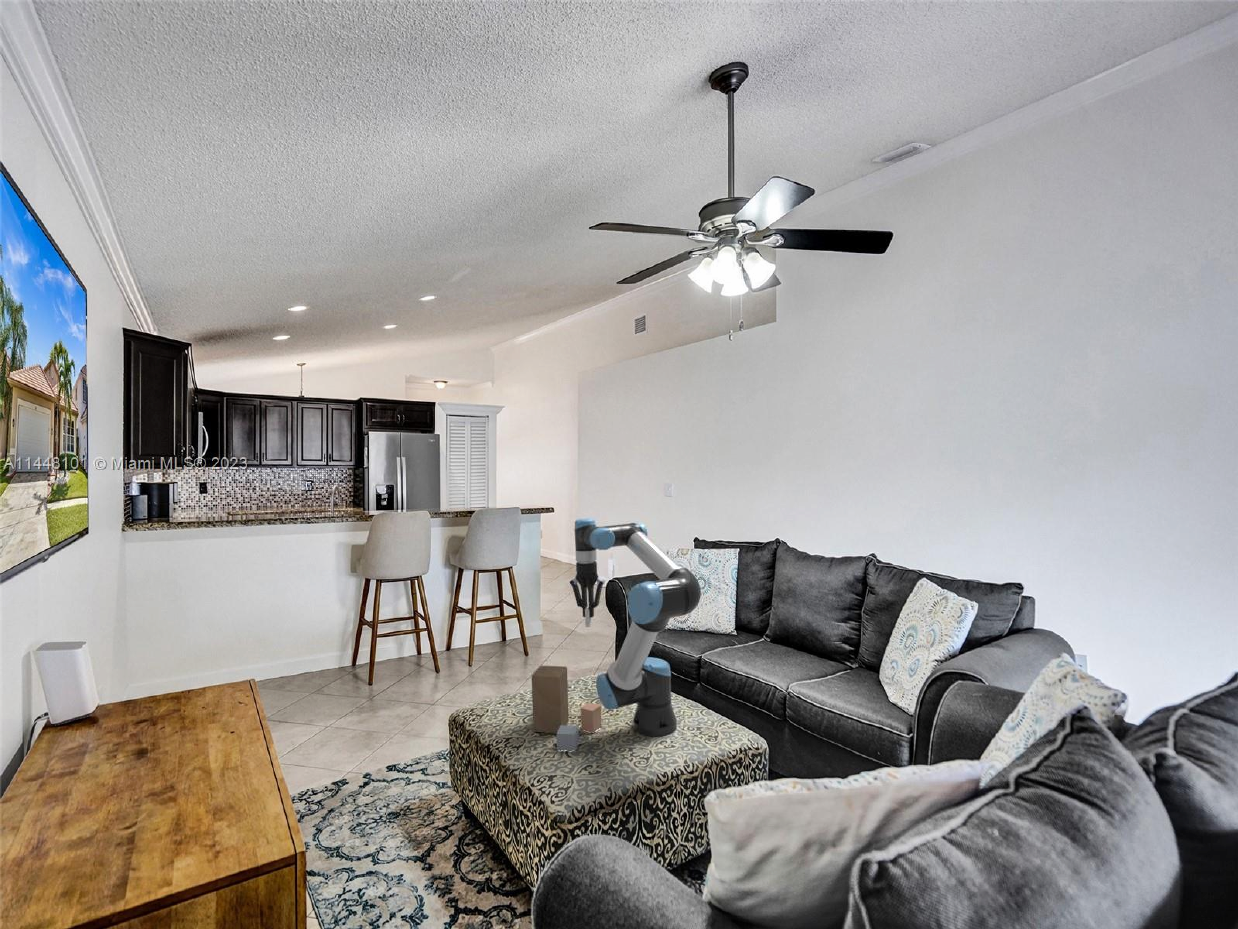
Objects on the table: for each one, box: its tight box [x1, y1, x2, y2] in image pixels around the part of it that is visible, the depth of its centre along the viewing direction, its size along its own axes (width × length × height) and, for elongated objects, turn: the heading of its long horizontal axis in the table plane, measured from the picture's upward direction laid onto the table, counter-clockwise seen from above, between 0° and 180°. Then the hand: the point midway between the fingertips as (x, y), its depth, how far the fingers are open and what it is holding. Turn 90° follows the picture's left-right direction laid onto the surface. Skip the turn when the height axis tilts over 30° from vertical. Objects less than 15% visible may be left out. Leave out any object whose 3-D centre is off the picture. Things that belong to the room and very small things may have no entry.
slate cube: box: [556, 724, 580, 751], centre depth 206 cm, size 6×6×6 cm
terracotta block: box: [580, 702, 603, 732], centre depth 218 cm, size 5×5×8 cm
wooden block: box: [531, 665, 570, 734], centre depth 220 cm, size 10×10×20 cm
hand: (588, 626), depth 230 cm, fingers closed
